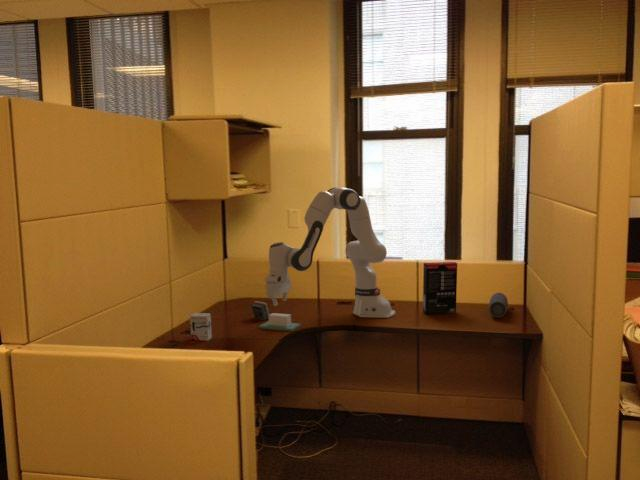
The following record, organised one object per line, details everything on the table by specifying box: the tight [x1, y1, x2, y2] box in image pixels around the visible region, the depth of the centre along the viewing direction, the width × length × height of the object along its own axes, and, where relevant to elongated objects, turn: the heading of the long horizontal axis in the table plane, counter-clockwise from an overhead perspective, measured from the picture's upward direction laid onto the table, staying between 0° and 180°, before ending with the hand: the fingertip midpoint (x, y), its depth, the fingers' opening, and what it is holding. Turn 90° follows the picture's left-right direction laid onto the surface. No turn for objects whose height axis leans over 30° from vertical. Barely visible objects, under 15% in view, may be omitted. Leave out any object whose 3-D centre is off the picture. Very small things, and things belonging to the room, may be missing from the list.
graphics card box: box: [422, 261, 458, 315], centre depth 305 cm, size 17×7×27 cm, turn 98°
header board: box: [258, 320, 302, 332], centre depth 284 cm, size 18×10×5 cm, turn 67°
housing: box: [268, 312, 292, 327], centre depth 284 cm, size 10×5×5 cm, turn 67°
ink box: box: [189, 312, 213, 342], centre depth 267 cm, size 8×5×12 cm, turn 81°
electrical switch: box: [251, 300, 271, 321], centre depth 302 cm, size 9×5×9 cm, turn 47°
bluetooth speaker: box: [488, 292, 509, 318], centre depth 300 cm, size 23×9×10 cm, turn 161°
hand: (280, 303), depth 284 cm, fingers open, 8 cm apart
